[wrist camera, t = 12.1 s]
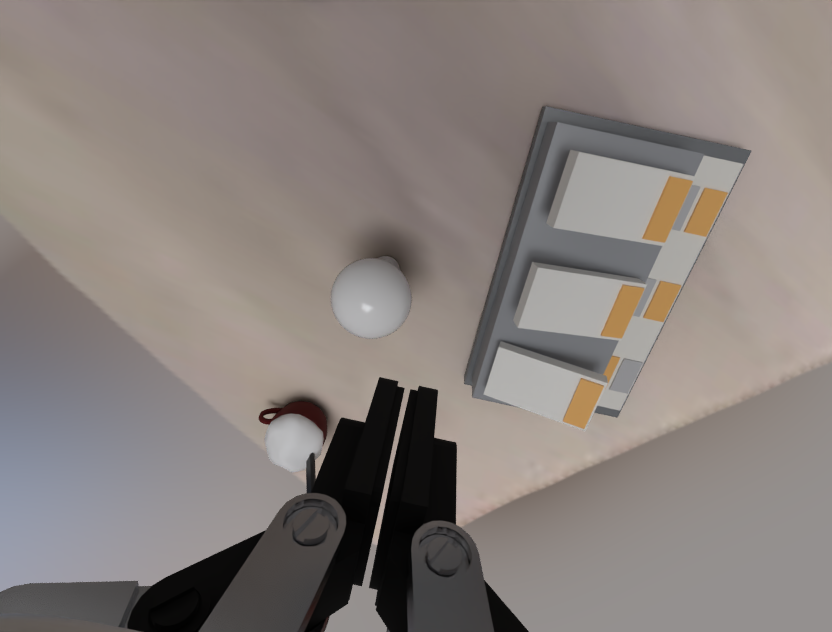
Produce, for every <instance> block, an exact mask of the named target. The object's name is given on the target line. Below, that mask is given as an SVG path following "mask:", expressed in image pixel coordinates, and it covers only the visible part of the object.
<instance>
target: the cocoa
mask: <svg viewBox="0 0 832 632" xmlns="http://www.w3.org/2000/svg"><path fill="white" fill-rule="evenodd" d="M271 413H277V414H276V415H275V416H274V417H273V418H272V419H266V418H264V417H263V416H264V415H266V414H271ZM259 421H260V422H261V423H263V424H269V426H268V429H267V432H266V435H265V439H264V440H265V445H266V449H267V453H268V457H269V460H270V461H271V462H272V463H273V464H274V465H277V466H280V467H283V468H285V469H286V470H288V471H290V472H297V471H301V470H305V469H306V479H307V493H311V491H312V488H313V486H314V483H315V481H316V477H315V460H316V459H317V458H318V457H319V456H320V455H321V451H322V446H323V444H324V442H325V439H326V436H327V421H326V417H325V415H324V414H323V412H322V411H321V410H320V408H319V407H317V406H316V405H314V404H313V403H310V402H305V401H298V402H292V403H289V404H288V405H287V406H285V407H284V408H271V409H266V410H264V411H262V412H261V413H260V415H259Z"/></svg>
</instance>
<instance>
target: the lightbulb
mask: <svg viewBox="0 0 832 632" xmlns="http://www.w3.org/2000/svg"><path fill="white" fill-rule="evenodd" d="M411 303H412V294H411V289H410V285H409V283H408V281H407V279H406V277H405V275H404V274H403V273H402V272H401V271H400V267H399V264H398V263H397V261H396V260H395V259H393V258H392V257H389V256H381V257H379V258H365V259H360V260H357V261H355V262H353V263H351V264H349V265H348V266H346V267H345V268H344V269H343V270H342V271H341V272H340V273H339V274H338V276H337V277H336V279H335V281H334V284H333V286H332V290H331V307H332V310H333V313H334V316H335V318H336V319H337V321H338V322H339V324H340V325H341V326H342V327H343V328H344V329H345V330H347V331H348V332H349V333H351V334H353V335H355V336H358V337H361V338H366V339H377V338H382V337H385V336H388V335H390V334H392V333H393V332H395V331H396V330H397V329H398V328H399V327H400V326H401V325H402V324H403V323H404V322H405V320H406V318H407V317H408V314H409V312H410V309H411Z"/></svg>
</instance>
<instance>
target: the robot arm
mask: <svg viewBox="0 0 832 632" xmlns="http://www.w3.org/2000/svg"><path fill="white" fill-rule="evenodd" d="M397 385H398V381H395V380H390V379H385V378H381V377H380V378H379V380H378V383H377V387H376V390H375V393H374V396H373V399H372V403H371V406H370V409H369V412H368V415H367V418H366V422H360V421H356V420H351V419H346V418H341V419H340V421H339V423H338V426H337V428H336V431H335V433H334V436H333V438H332V441H331V443H330V446H329V448H328V451H327V453H326V456H325V458H324V461H323V463H322V466H321V468H320V471H319V473H318V476H317V478H316V481H315V483H314V486H313V488H312V491H311V493H306V494H302V495H299V496H296V497H294V498H293V499H291V500H289V501H288V502H286V503H285V505H284V506H283V507H282V508H281V509H280V510H279V512H278V513H277V515H276V516H275V518H274V519H273V521H272V522H271V524H270V525H269V527H268V528H267V530H266V531H263V532H261V533H259V534H257V535H255V536H253V537H250V538H248V539H247V540H244V541H242V542H240V543H238V544H236V545H233V546H231V547H229V548H227V549H225V550H223V551H221V552H219V553H217V554H214V555H212V556H210V557H208V558H206V559H204V560H202V561H200V562H197V563H195V564H193V565H191V566H189V567H187V568H185V569H183V570H180V571H178V572H176V573H174V574H172V575H170V576H168V577H166V578H164V579H162V580H161V581H159V582H157V583H156V584H154V585H153V586H138V581H119V582H118V581H117V582H76V583H74V582H73V583H34V584H33V583H32V584H31V583H30V584H24V585H19V586H14V587H11V588H9V589H6V590H4V591H2V592H0V632H324V631H325V629H326V626H327V624H328V620H329V616H330V615H331V614H333V613H335V612H336V611H338V610H339V609H341V608H342V607H344V606H345V605H347V604H348V601H349V599H350V594H351V590H352V585H353V584H354V585H358V586H362V583H363V579H364V574H365V570H366V565H367V561H368V556H369V552H370V547H371V543H372V538H373V534H374V529H375V525H376V521H377V516H378V512H379V507H380V503H381V498H382V493H383V489H384V484H385V479H386V474H387V470H388V465H389V460H390V455H391V451H392V446H393V441H394V436H395V431H396V427H397V422H398V417H399V412H400V407H401V403H402V398H403V393H404V388H402V387H398V386H397ZM437 396H438V390H436V389H431V388H426V387H422V386H419V388H418V391H416V390H410V394H409V398H408V402H407V407H406V411H405V415H404V420H403V424H402V429H401V433H400V437H399V442H398V446H397V450H396V455H395V459H394V463H393V468H392V473H391V478H390V483H389V488H388V493H387V499H386V504H385V509H384V514H383V519H382V524H381V529H380V534H379V539H378V545H377V550H376V555H375V560H374V565H373V570H372V575H371V581H370V586H369V588H372V589H377V590H378V591H377V597H376V602H375V605H376V606H377V608H376V611H377V612H378V614H379V615H380V617H381V619H382V620H383V622H384V623H385V625H386V626H387V632H528V630H527V629H526V628H525V627H524V626H523V624H522V623H521V622H520V621H519V620H518V619H517V617H516V616H515V615H514V614H513V613H512V612H511V611H510V609H509V608H508V607H507V606H506V605H505V604H504V602H503V601H502V600H501V599H500V598H499V597H498V596H497V594H496V593H495V592H494V591H493V590H492V588H491V587H490V586H489V585H488V584H487V583H486V582H485V580H484V577H483V572H482V567H481V562H480V557H479V553H478V550H477V547H476V544H475V543H474V541H473V539H472V538H471V537H470V535H469V534H468V533H466V531H464V530H463V529H462V528H461V527H459V526H457V525H456V466H457V445H456V442H451V441H446V440H442V439H437V438H434V432H435V420H436V408H437Z"/></svg>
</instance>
